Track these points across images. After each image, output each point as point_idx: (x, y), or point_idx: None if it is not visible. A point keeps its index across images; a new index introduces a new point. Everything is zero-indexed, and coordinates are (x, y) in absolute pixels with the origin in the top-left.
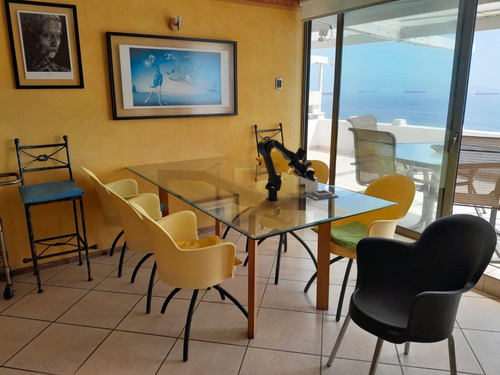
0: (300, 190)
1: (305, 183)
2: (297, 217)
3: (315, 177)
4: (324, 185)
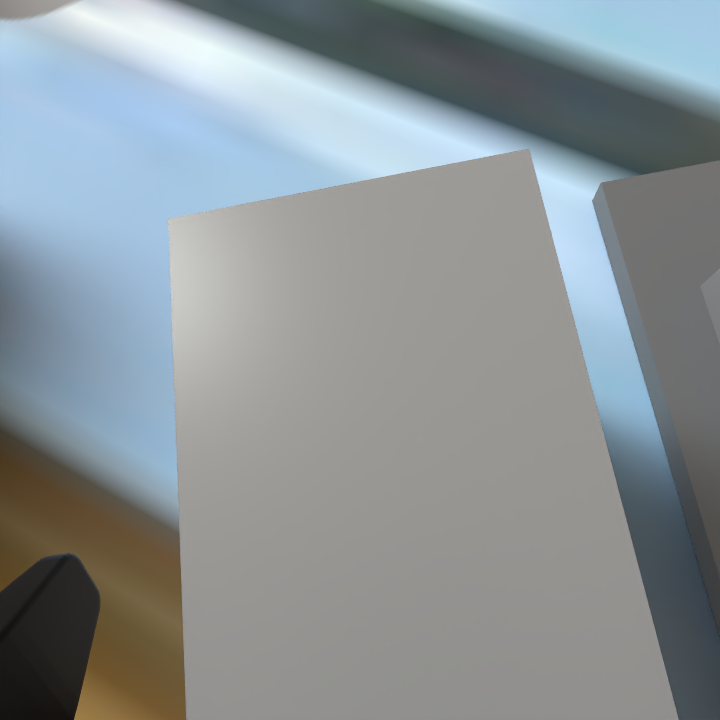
0: None
1: None
2: None
3: (362, 233)
4: (69, 41)
